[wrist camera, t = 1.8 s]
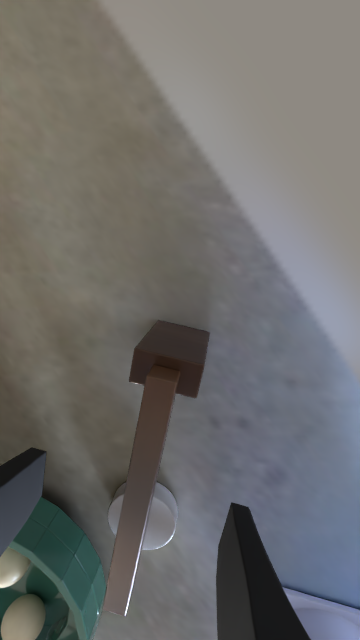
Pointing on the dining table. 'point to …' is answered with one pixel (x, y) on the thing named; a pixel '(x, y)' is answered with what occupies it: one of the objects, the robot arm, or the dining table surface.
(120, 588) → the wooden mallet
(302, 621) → the robot arm
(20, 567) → the ball
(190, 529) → the dining table surface
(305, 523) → the dining table surface
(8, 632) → the ball
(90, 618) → the bowl
